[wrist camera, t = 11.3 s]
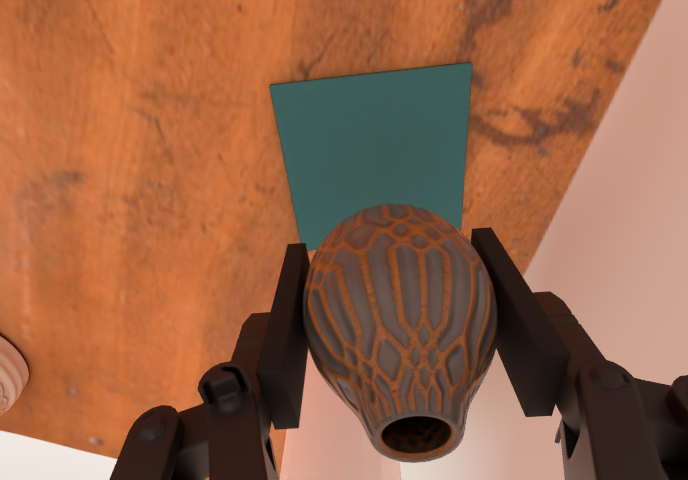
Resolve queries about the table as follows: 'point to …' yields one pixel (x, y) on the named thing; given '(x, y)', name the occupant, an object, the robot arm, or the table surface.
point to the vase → (401, 326)
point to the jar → (11, 375)
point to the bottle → (331, 440)
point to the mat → (374, 144)
